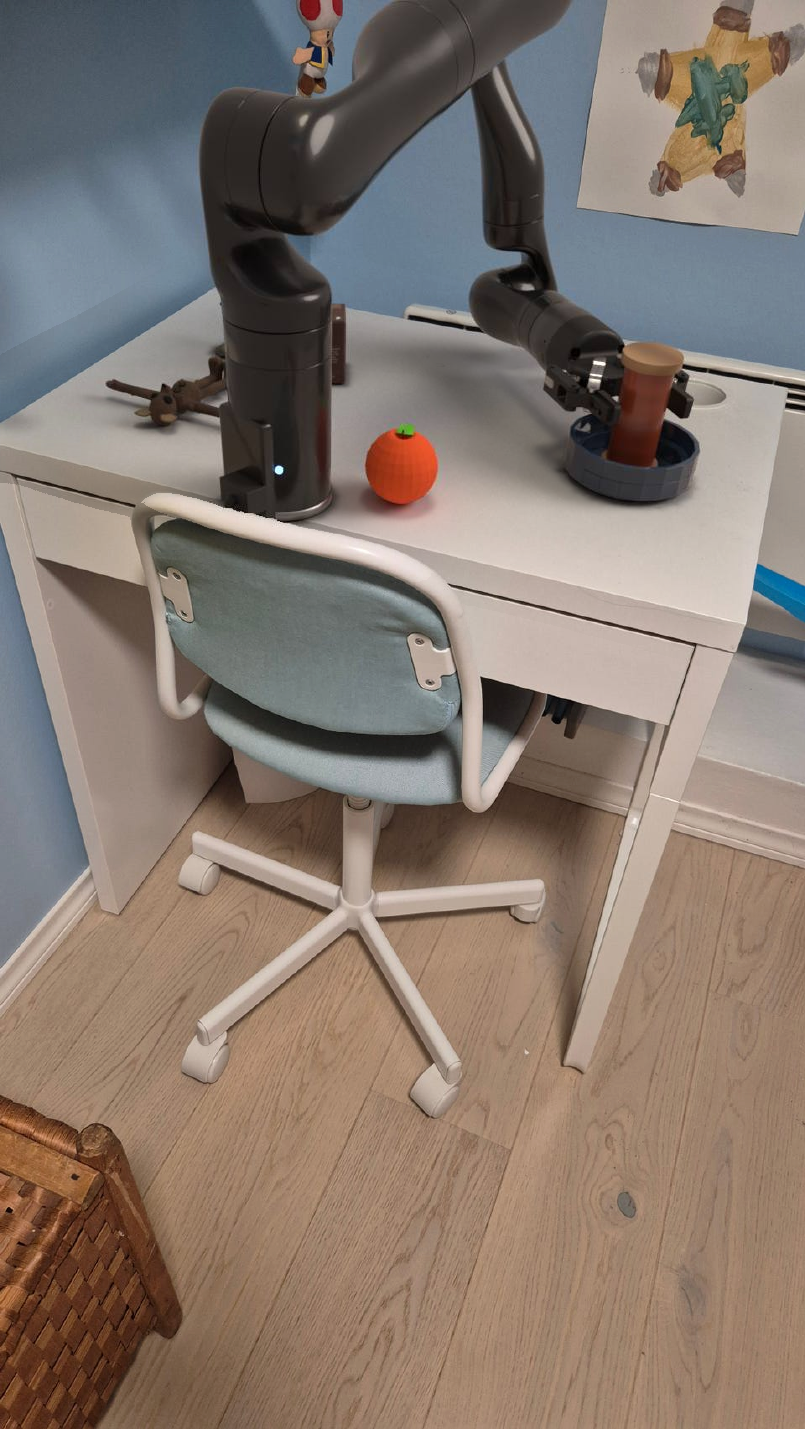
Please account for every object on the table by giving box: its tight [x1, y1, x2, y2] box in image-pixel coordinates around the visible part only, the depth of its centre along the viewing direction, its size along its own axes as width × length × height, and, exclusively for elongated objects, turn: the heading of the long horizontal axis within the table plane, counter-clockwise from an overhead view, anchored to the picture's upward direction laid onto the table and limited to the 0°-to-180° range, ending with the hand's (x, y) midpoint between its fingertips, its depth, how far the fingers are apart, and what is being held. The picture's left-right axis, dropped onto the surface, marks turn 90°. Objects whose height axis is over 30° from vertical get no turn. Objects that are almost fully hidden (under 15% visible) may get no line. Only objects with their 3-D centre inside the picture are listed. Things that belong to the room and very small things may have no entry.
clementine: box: [364, 423, 439, 505], centre depth 93 cm, size 8×7×7 cm
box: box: [332, 302, 347, 384], centre depth 114 cm, size 6×6×7 cm
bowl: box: [564, 413, 701, 502], centre depth 100 cm, size 13×13×4 cm
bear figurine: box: [105, 355, 227, 427], centre depth 107 cm, size 18×4×14 cm
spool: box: [601, 341, 685, 467], centre depth 97 cm, size 6×6×12 cm
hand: (652, 413), depth 95 cm, fingers open, 7 cm apart
